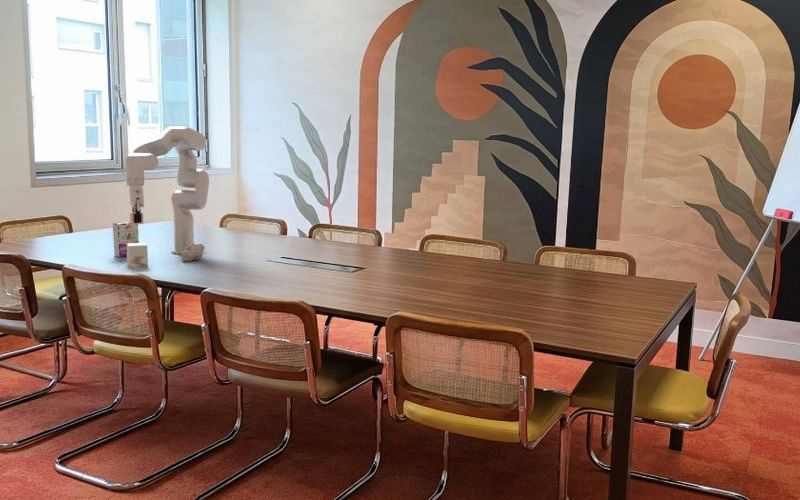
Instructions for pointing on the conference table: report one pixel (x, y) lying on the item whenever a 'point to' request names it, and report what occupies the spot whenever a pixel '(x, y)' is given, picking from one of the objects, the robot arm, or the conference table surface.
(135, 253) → the tower top
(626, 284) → the conference table surface
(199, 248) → the fossil replica
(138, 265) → the tower bottom
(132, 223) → the terracotta cube
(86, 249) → the conference table surface
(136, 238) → the candy bar box
